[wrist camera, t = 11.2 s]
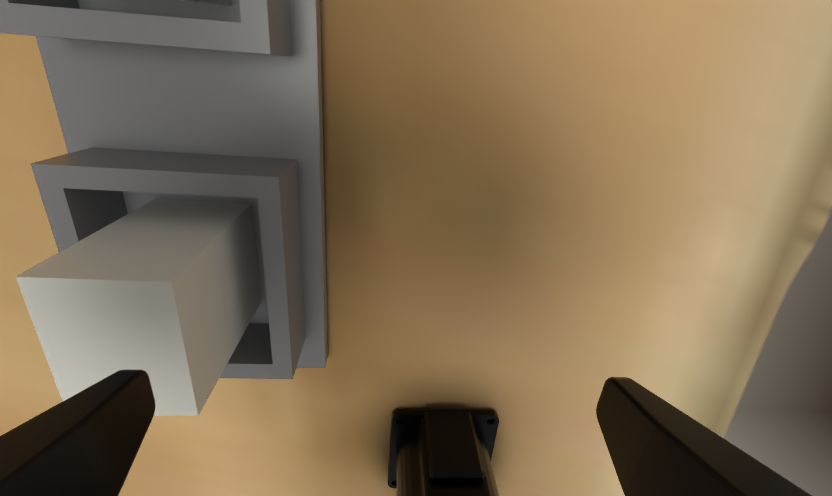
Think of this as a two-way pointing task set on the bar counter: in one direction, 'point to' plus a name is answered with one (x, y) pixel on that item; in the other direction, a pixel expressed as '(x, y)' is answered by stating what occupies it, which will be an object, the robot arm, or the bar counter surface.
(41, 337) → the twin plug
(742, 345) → the bar counter surface
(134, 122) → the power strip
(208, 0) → the plug
